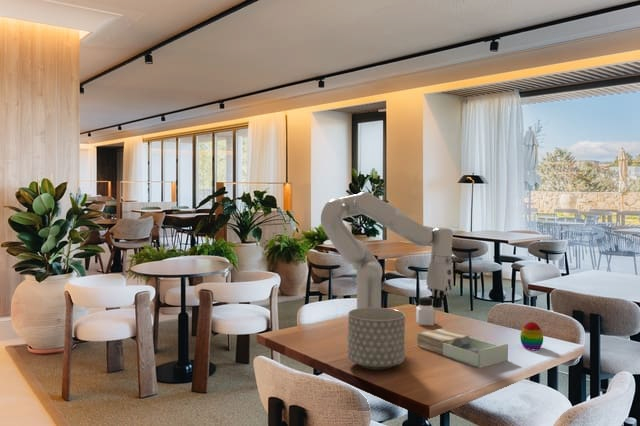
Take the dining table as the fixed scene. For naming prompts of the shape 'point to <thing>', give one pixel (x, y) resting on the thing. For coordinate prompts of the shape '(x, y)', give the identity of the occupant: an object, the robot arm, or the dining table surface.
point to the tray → (485, 355)
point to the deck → (438, 339)
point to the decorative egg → (531, 336)
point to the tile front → (471, 349)
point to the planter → (376, 337)
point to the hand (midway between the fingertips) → (437, 307)
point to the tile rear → (464, 342)
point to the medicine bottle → (425, 312)
